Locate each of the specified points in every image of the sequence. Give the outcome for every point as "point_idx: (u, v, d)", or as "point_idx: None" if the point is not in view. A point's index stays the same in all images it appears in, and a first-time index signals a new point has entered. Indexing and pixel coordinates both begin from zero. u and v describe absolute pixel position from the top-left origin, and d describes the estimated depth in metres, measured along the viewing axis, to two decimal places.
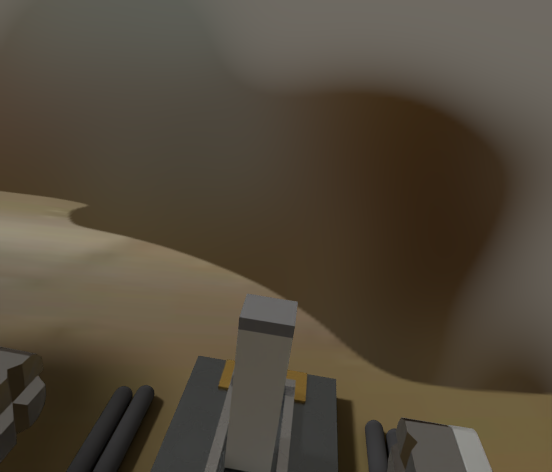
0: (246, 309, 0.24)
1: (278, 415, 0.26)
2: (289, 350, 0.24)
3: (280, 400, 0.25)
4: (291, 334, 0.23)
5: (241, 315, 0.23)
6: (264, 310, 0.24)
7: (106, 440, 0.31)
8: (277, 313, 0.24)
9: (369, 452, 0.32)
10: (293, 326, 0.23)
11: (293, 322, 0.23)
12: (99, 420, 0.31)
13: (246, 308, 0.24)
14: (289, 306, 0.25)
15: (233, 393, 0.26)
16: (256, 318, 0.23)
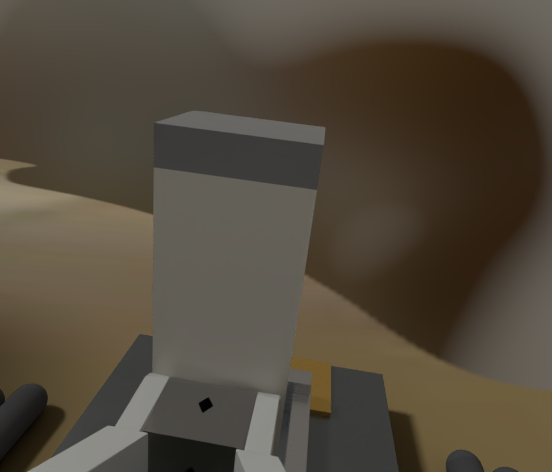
0: (181, 119, 0.08)
1: (276, 431, 0.10)
2: (306, 233, 0.08)
3: (281, 390, 0.09)
4: (313, 176, 0.08)
5: (161, 122, 0.08)
6: (234, 125, 0.08)
7: None
8: (270, 130, 0.08)
9: None
10: (319, 146, 0.07)
11: (318, 141, 0.08)
12: None
13: (182, 119, 0.08)
14: (304, 128, 0.09)
15: (157, 372, 0.10)
16: (206, 128, 0.08)
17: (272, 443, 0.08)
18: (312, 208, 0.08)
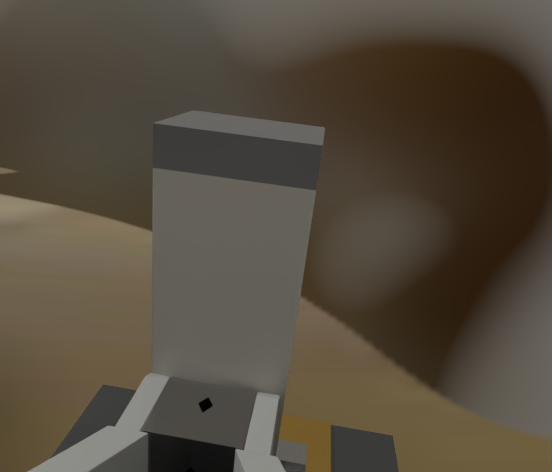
0: (180, 119, 0.08)
1: (276, 432, 0.10)
2: (305, 234, 0.08)
3: (280, 390, 0.09)
4: (312, 176, 0.08)
5: (160, 122, 0.08)
6: (233, 125, 0.08)
7: None
8: (270, 130, 0.08)
9: None
10: (318, 146, 0.07)
11: (317, 142, 0.08)
12: None
13: (181, 119, 0.08)
14: (303, 128, 0.09)
15: (156, 372, 0.10)
16: (205, 129, 0.08)
17: (272, 443, 0.08)
18: (311, 208, 0.08)
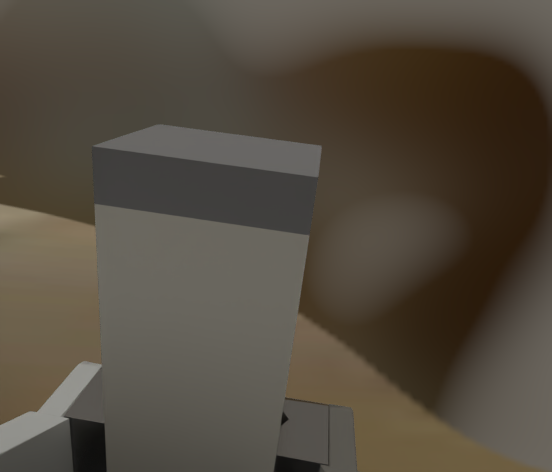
0: (134, 139, 0.06)
1: None
2: (296, 290, 0.06)
3: None
4: (304, 218, 0.06)
5: (103, 144, 0.06)
6: (203, 146, 0.07)
7: None
8: (250, 153, 0.06)
9: None
10: (312, 179, 0.06)
11: (311, 171, 0.06)
12: None
13: (136, 138, 0.07)
14: (295, 148, 0.07)
15: (111, 451, 0.08)
16: (161, 154, 0.06)
17: (355, 458, 0.08)
18: (303, 258, 0.06)
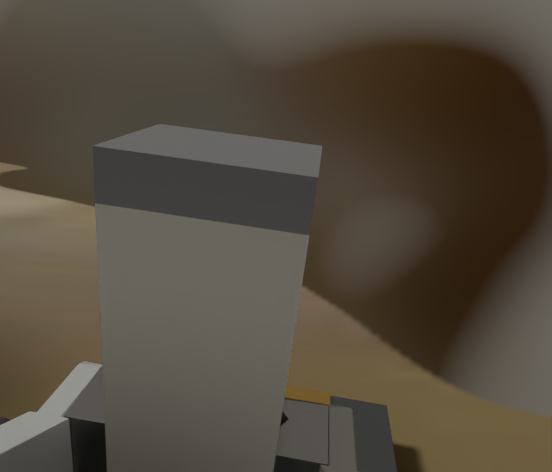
0: (135, 139, 0.06)
1: None
2: (296, 290, 0.06)
3: None
4: (304, 218, 0.06)
5: (104, 144, 0.06)
6: (203, 146, 0.07)
7: None
8: (250, 153, 0.06)
9: None
10: (312, 179, 0.06)
11: (311, 171, 0.06)
12: None
13: (137, 138, 0.07)
14: (295, 148, 0.07)
15: (111, 450, 0.08)
16: (162, 154, 0.06)
17: (355, 458, 0.08)
18: (303, 258, 0.06)
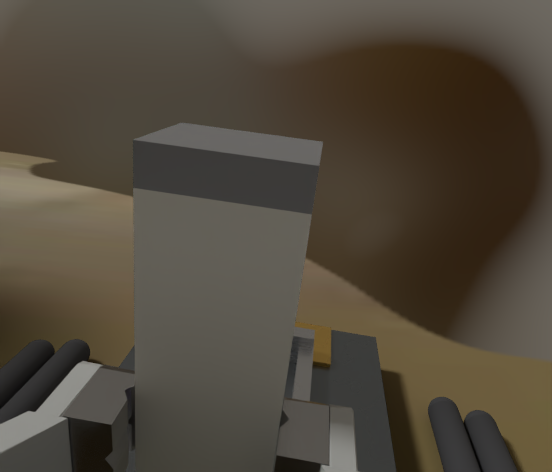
0: (165, 134, 0.08)
1: (268, 469, 0.09)
2: (300, 261, 0.07)
3: (273, 426, 0.09)
4: (307, 199, 0.07)
5: (141, 138, 0.07)
6: (222, 140, 0.08)
7: None
8: (262, 146, 0.08)
9: (442, 446, 0.19)
10: (314, 167, 0.07)
11: (314, 161, 0.07)
12: None
13: (166, 134, 0.08)
14: (299, 143, 0.08)
15: (139, 404, 0.09)
16: (190, 146, 0.07)
17: (356, 458, 0.08)
18: (306, 234, 0.07)
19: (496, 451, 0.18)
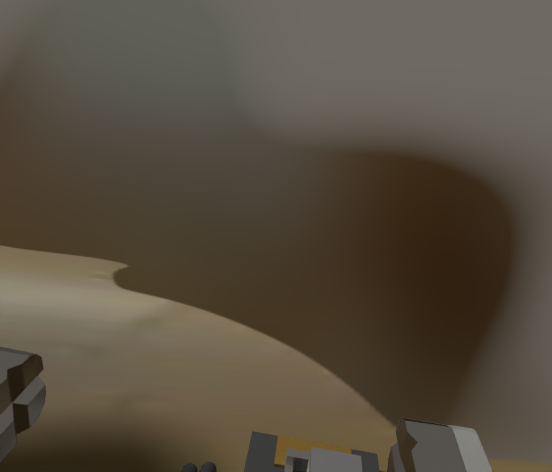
0: (314, 470, 0.25)
1: None
2: None
3: None
4: None
5: None
6: (331, 470, 0.25)
7: None
8: None
9: None
10: None
11: None
12: None
13: (314, 468, 0.25)
14: (354, 463, 0.26)
15: None
16: None
17: None
18: None
19: None
